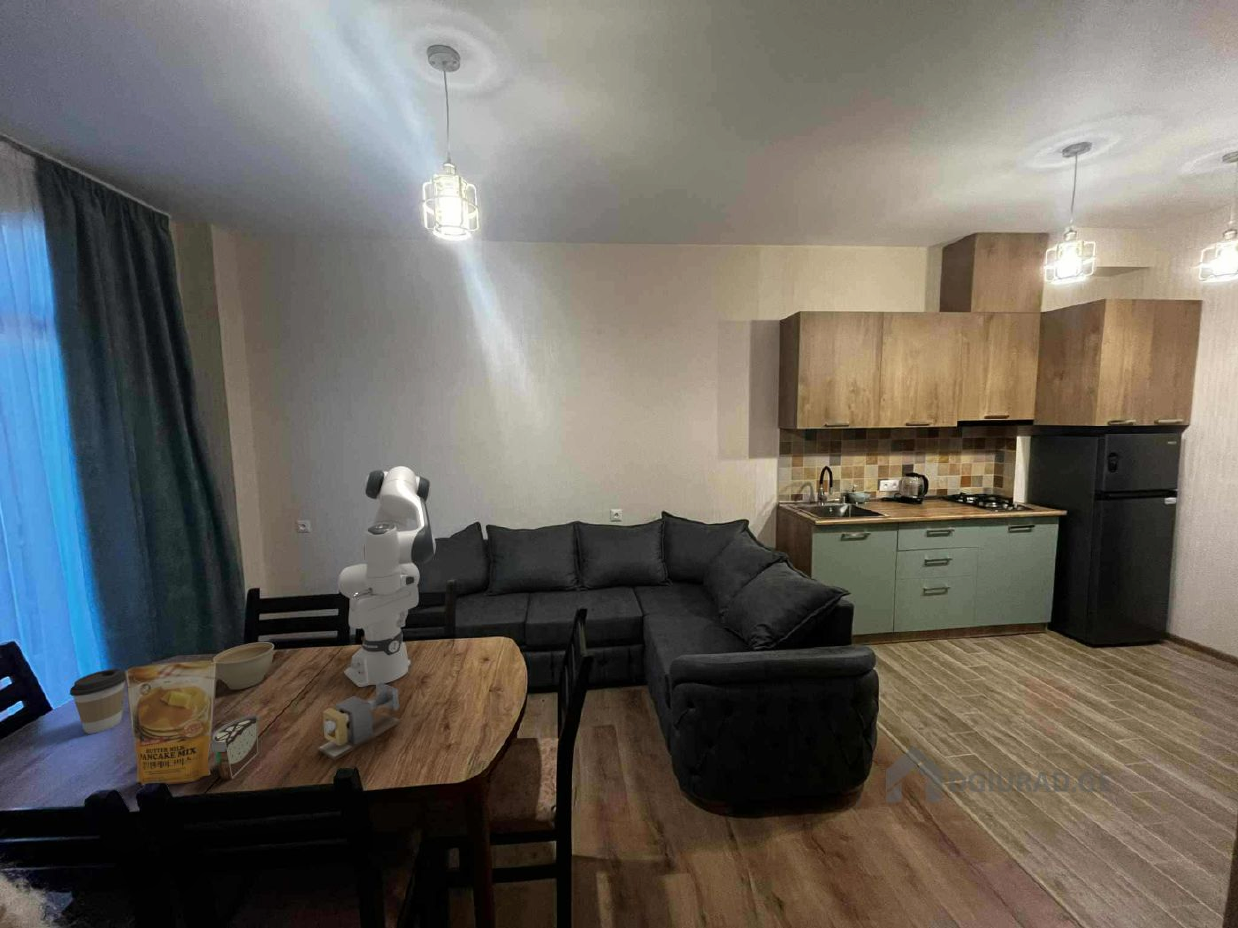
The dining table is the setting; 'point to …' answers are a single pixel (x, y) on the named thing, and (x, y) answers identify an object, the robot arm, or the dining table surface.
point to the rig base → (378, 726)
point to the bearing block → (357, 719)
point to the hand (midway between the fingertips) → (386, 632)
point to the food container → (236, 745)
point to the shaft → (374, 703)
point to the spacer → (340, 723)
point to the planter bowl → (244, 664)
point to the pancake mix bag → (172, 719)
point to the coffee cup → (99, 699)
